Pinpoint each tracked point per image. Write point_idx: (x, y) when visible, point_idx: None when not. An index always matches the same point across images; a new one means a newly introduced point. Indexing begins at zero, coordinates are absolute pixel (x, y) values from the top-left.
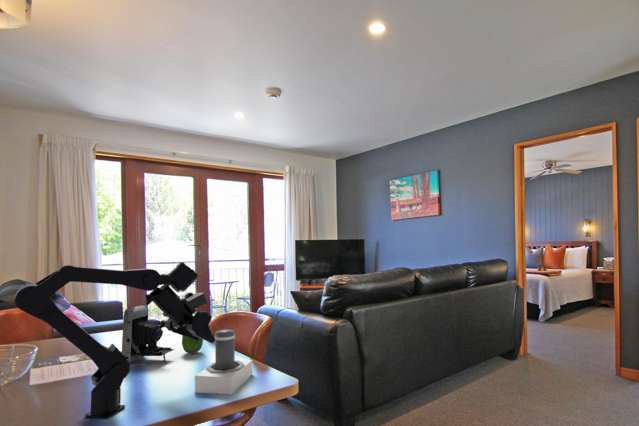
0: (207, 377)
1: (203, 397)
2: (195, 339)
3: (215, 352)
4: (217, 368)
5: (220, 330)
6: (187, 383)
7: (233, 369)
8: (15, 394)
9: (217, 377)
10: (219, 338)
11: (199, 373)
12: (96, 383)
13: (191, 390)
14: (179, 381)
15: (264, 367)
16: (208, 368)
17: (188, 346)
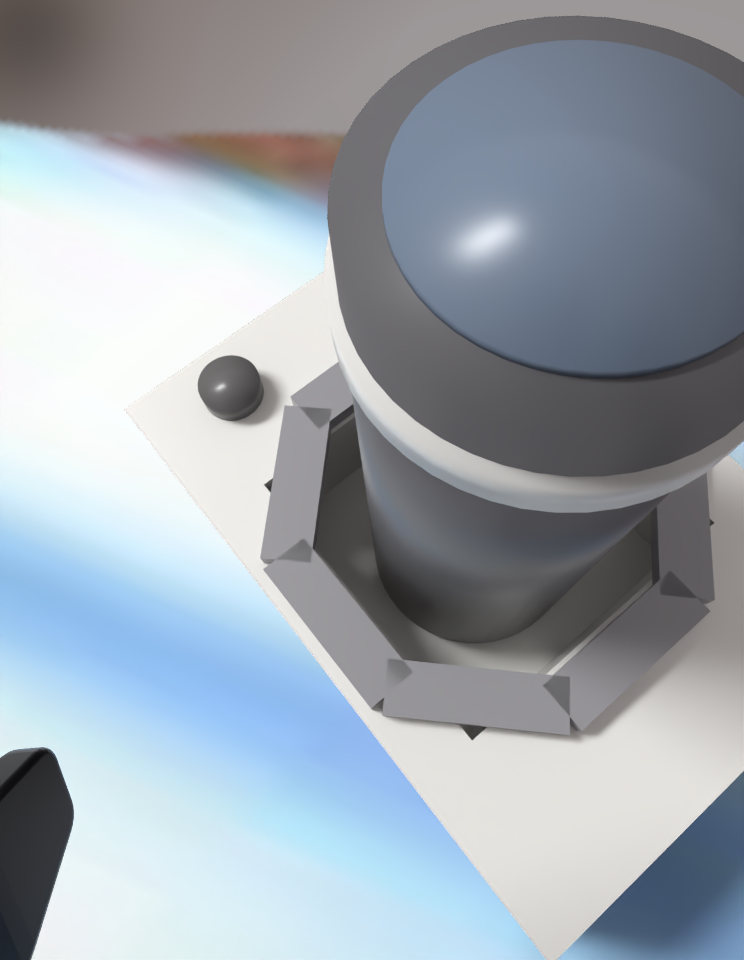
0: (676, 830)
1: (713, 901)
2: (52, 880)
3: (460, 565)
4: (519, 615)
5: (411, 238)
6: (191, 864)
7: (694, 490)
8: None
9: None
10: (720, 460)
11: (493, 867)
12: None
13: (430, 920)
14: (58, 913)
15: (338, 145)
16: (447, 709)
17: None
